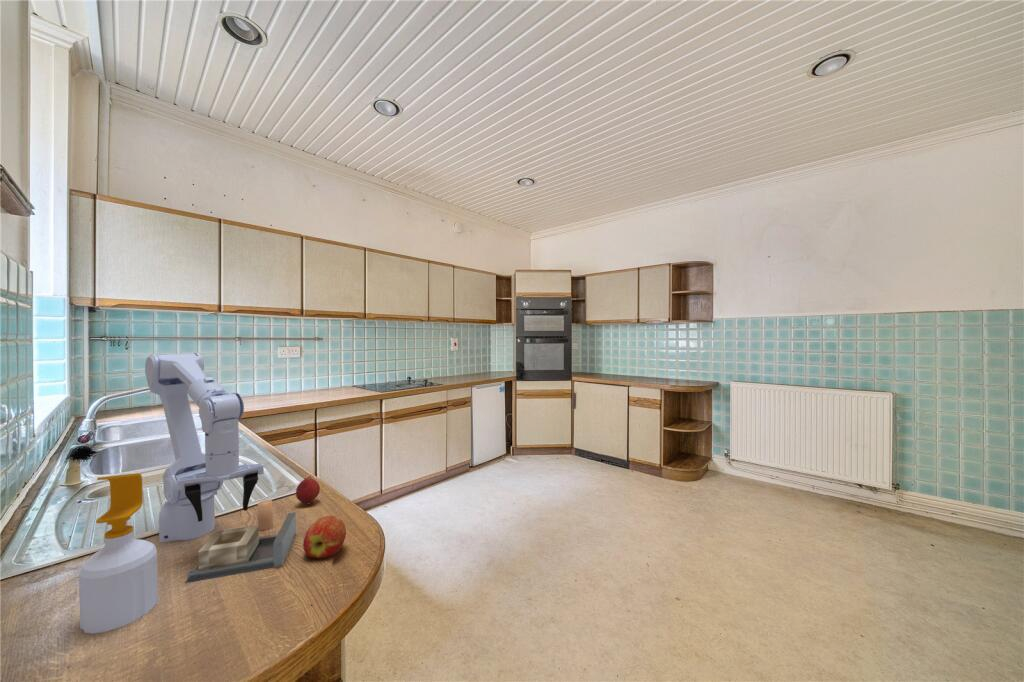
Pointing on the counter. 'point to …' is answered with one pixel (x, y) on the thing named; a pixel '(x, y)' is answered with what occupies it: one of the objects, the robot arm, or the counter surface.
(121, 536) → the soap bottle
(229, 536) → the sliding block
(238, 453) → the robot arm
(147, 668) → the counter surface
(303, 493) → the onion
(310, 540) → the apple
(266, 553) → the slide base
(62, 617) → the counter surface
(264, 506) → the dowel
